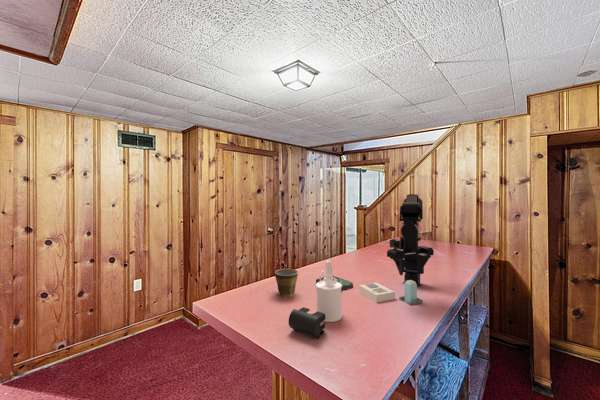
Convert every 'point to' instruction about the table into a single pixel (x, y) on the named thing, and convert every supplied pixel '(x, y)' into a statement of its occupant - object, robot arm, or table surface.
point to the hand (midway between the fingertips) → (410, 273)
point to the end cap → (307, 322)
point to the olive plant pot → (286, 281)
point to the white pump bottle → (329, 296)
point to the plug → (410, 291)
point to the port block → (376, 292)
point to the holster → (410, 301)
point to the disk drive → (344, 283)
